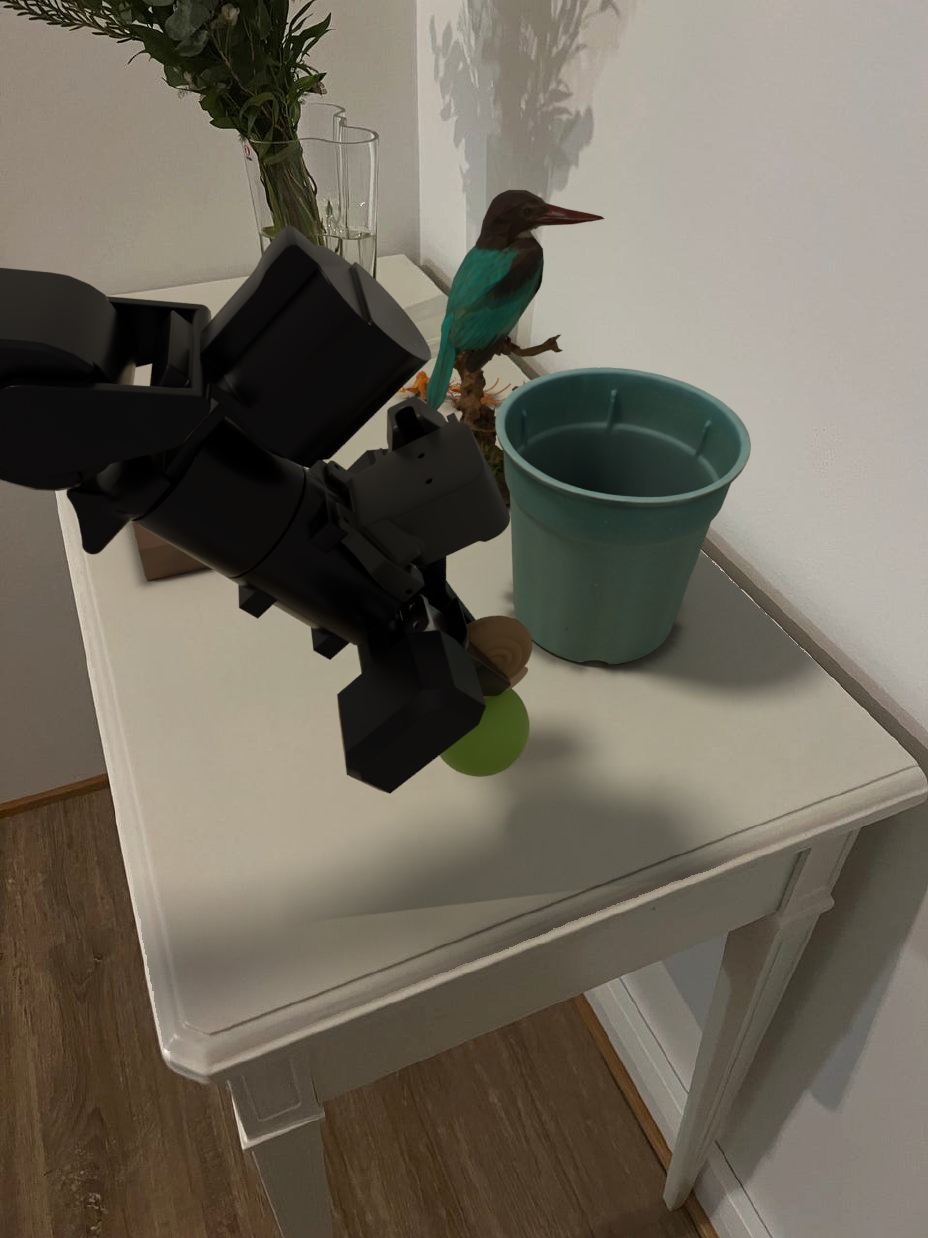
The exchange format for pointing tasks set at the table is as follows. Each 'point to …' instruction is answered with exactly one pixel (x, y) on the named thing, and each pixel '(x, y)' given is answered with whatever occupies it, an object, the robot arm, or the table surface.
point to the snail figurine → (496, 702)
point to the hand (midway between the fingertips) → (499, 674)
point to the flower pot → (611, 503)
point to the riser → (162, 556)
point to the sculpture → (494, 309)
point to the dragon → (423, 381)
